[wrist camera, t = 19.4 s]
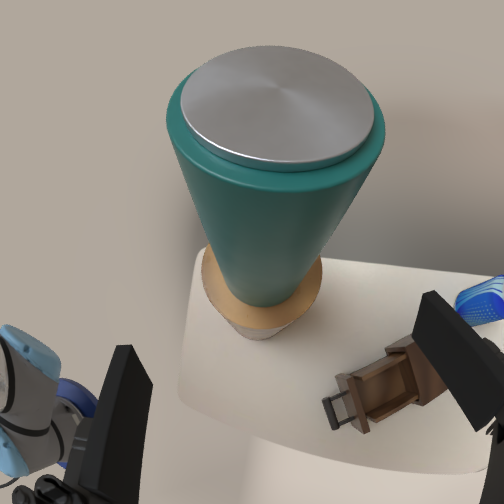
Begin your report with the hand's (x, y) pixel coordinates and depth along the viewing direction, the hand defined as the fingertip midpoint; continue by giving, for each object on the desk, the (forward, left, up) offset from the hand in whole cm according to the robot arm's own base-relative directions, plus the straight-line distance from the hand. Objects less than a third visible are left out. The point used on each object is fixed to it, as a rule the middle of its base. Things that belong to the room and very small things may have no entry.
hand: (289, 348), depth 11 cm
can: (+1, +6, -10) cm, 12 cm away
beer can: (+44, -11, -38) cm, 60 cm away
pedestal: (+1, +6, -38) cm, 39 cm away
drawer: (+14, -15, -37) cm, 43 cm away
